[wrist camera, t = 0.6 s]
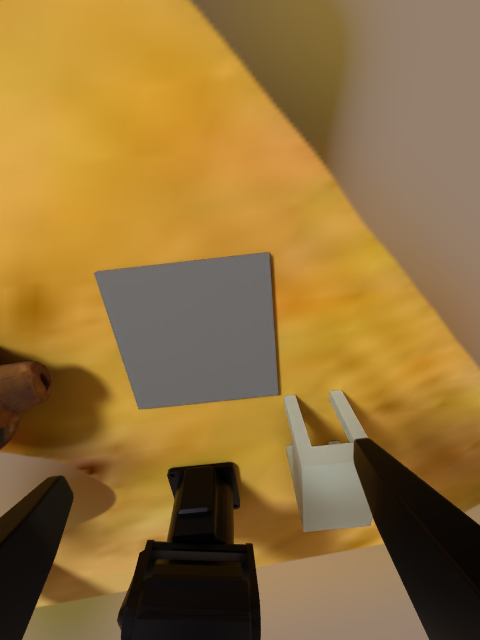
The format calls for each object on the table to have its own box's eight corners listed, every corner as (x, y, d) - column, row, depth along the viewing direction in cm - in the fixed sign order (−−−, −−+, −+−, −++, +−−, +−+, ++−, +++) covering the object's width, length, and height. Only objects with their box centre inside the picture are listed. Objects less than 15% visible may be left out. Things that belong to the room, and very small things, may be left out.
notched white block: (338, 448, 27) (370, 525, 21) (286, 453, 27) (303, 532, 21) (341, 389, 24) (380, 459, 18) (283, 395, 25) (302, 467, 18)
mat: (277, 391, 24) (278, 394, 24) (140, 406, 25) (138, 409, 24) (268, 251, 19) (269, 253, 19) (96, 271, 20) (94, 273, 19)
